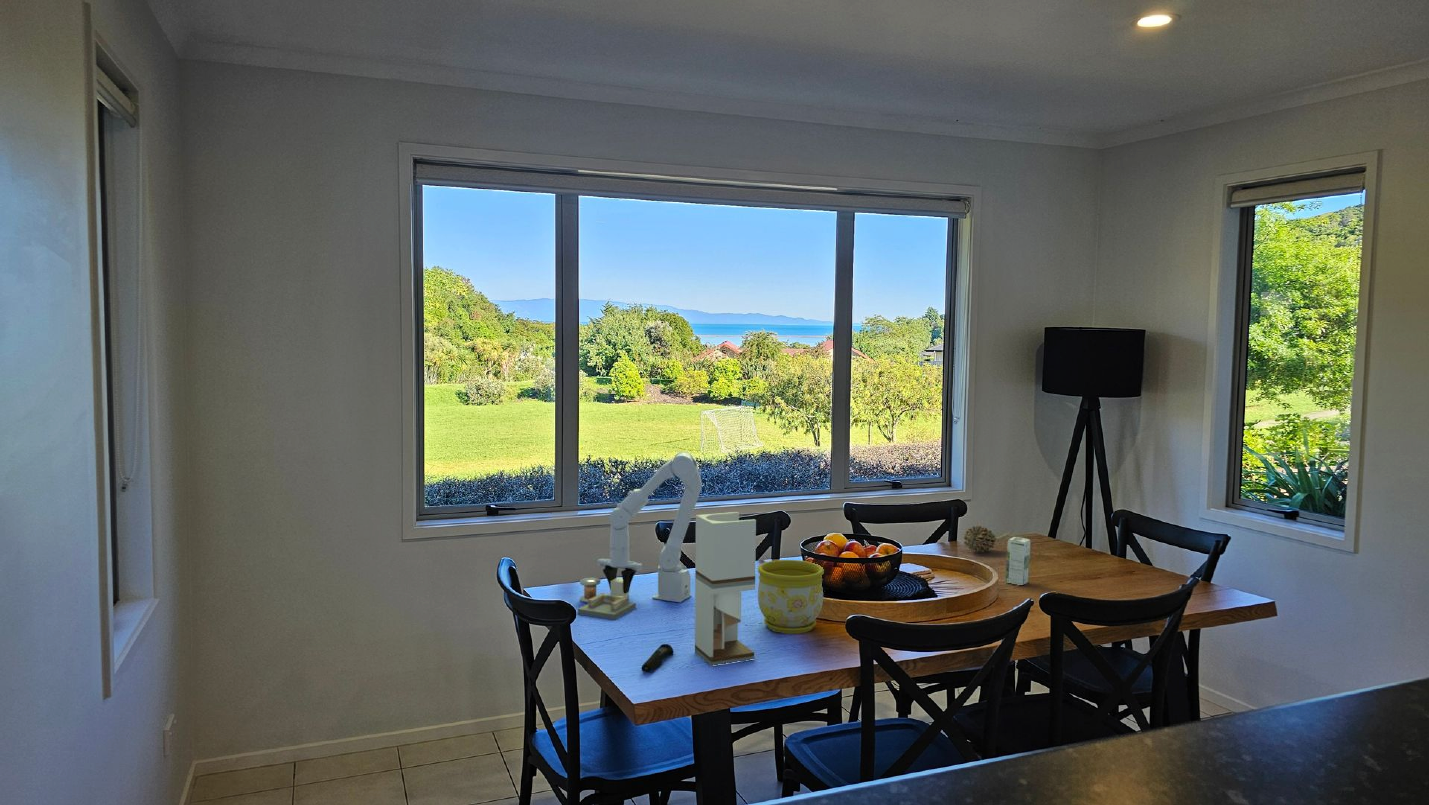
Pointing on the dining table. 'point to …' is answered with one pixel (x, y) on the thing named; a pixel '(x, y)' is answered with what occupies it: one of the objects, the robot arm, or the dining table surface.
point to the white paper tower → (722, 584)
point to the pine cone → (981, 538)
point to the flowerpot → (790, 595)
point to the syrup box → (1018, 561)
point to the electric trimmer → (657, 658)
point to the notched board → (607, 606)
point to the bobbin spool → (589, 588)
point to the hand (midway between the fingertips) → (619, 591)
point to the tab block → (618, 587)
